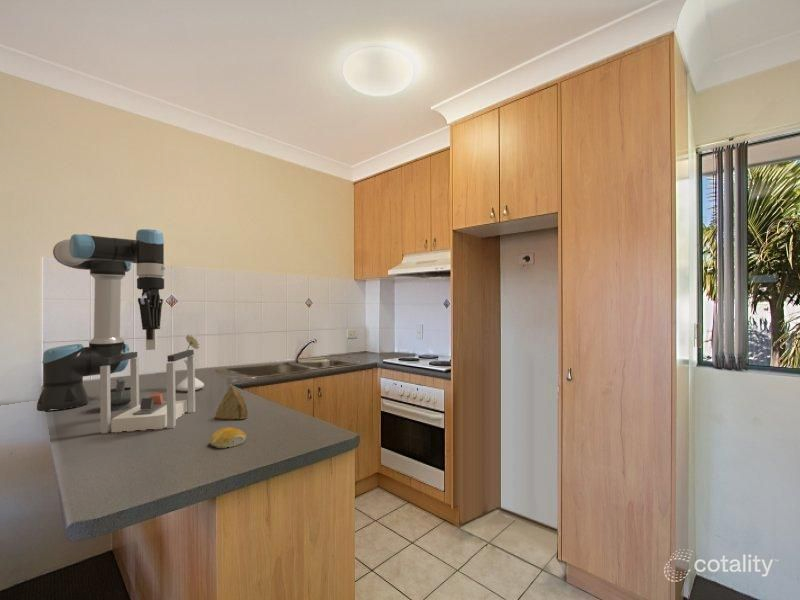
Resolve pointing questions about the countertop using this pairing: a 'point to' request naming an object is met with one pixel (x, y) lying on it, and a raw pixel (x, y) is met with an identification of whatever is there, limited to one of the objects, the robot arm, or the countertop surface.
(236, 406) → the rock
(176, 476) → the countertop surface
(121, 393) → the mortar and pestle
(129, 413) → the white grey open frame
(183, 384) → the flower in vase
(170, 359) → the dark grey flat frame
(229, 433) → the bread roll
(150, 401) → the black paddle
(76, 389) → the robot arm
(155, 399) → the terracotta block
